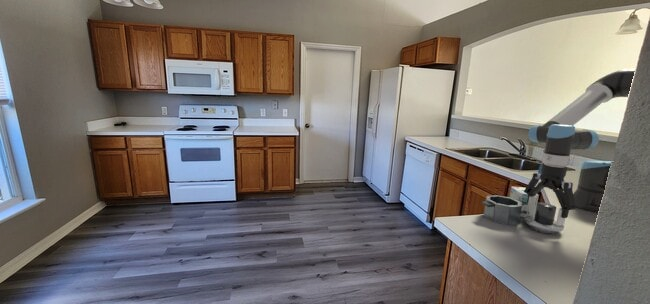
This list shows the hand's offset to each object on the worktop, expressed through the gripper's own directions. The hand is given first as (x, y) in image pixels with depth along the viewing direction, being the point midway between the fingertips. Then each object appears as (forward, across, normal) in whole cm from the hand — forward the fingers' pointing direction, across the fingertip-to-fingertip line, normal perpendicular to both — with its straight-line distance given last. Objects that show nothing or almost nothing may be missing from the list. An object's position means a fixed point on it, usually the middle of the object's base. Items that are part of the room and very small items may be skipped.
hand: (544, 217), depth 108 cm
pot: (+5, -11, -9) cm, 15 cm away
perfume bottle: (+5, -67, +76) cm, 101 cm away
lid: (+5, 0, 0) cm, 5 cm away
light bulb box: (+5, -15, +5) cm, 17 cm away
